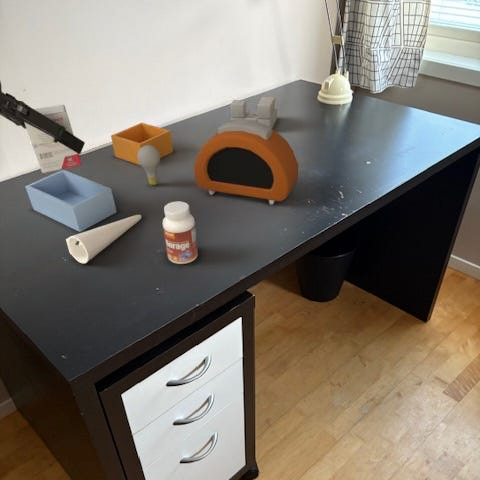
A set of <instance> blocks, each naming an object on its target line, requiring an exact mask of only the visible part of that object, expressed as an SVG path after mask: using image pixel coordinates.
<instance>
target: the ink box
mask: <svg viewBox="0 0 480 480" xmlns="http://www.w3.org/2000/svg"><path fill="white" fill-rule="evenodd" d="M33 109H34V110H36V111H38V112H39V113H41V114H43V115H44V116H46V117H48V118H49V119H51V120H53V121H54V122H56V123H58V124H59V125H61V126H64V127H65V128H66V129H65V130H66V131H68V132H69V133H71V134H72V135H74V132H73V131H74V130H73V128H72V124H71V122H70V118H69V115H68V113H67V108H66V106H65V104H59V105H51V106H44V107H38V108H33ZM24 123H25V122H24ZM25 126H26V129H25V130H26V131H27V134H28V137H29V140H30V142H31V145H32V148H33V151H34V154H35V157H36V160H37V163H38V166H39V168H40V171H41V173H42V174H46V173H49V172H55V171H61V170H66V169H69V168H74V167H78V166H79V167H80V166H82V164H83V163H82V159H81V156H80V154H78V153H76V152H75V151H73V150H71V149H70V148H68V147H66V146H65V145H63V144H61V143H59V142H58V141H57V143H55V142H53V141H54V138H53V137H51V136H50V135H48V134H46V133H44V132H42V131H40V130H38V129H36V128H34V127H33V126H31V125H29V124H27V123H25Z"/></svg>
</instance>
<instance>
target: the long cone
mask: <svg viewBox="0 0 480 480" xmlns="http://www.w3.org/2000/svg"><path fill="white" fill-rule="evenodd" d="M141 219H142V215H141V214H134V215H132V216H129V217H126V218H123V219H120V220H117V221H113V222H110V223H107V224H105V225H101V226H98V227H94V228H92V229H89V230H85V231H81V232H79V233H77V234H74V235H71V236H69V237H68V238H65V241H66V245H67V249H68V251H69V254H70V255H71V256H72V257H73V259H74V260H76V261H77V262H78V263H80V264H87V263H88V262H90V261H91V260H93V258H95V257H96V256H97V255H99V253H101V252H102V251H103V250H105V249H106V248H107V247H108V246H110V245H111V244H112V243H113V242H114V241H116V240H117V239H118V238H120V237H121V236H122V235H123V234H124V233H126V232H127V231H128V230H130V229H131V228H132V227H133V226H134V225H136V224H137V223H138V222H140V220H141ZM77 242H78V244H77Z"/></svg>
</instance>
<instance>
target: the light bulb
mask: <svg viewBox="0 0 480 480" xmlns="http://www.w3.org/2000/svg"><path fill="white" fill-rule="evenodd" d="M137 157H138V162H139V164H140V165H139V166H141V168H142V169H143V170H144V171H145V172H146V175H147V176H146V177H147V179H148V184H149V185H151V186H155V185H157V184H158V177H157V175H158V174H157V170H158V167H159V165H160V163H161V158H160V153H159V151H158V150H157V149H156V148H155V147H153V146H151V145H146V146H143V147H142V148H140V150H139V151H138V155H137Z"/></svg>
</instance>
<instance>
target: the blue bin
mask: <svg viewBox="0 0 480 480" xmlns="http://www.w3.org/2000/svg"><path fill="white" fill-rule="evenodd" d="M24 187H25V190H26V193H27V196H28V198H29V201H30V203H31V207H32V209H33V210H34V211H35V212H37V213H39V214H41V215H44V216H45V217H48V218H50V219H52V220H54V221H56V222H59V223H61V224H62V225H64V226H66V227H68V228H71V229H73V230H74V231H77V232H79V233H82V232H84V231H86V229H88V228H91V227H92V226H94V225H96V224H98V223H100V222H101V221H103V220H105V219H107V218H108V217H110V216H112V215H114V214H116V213H117V209H116V208H117V207H116V204H115V200H114V199H115V198H114V194H113V191H112V188H111V187H109V186H106V185H103V184H100V183H99V182H96V181H93V180H90V179H89V178H87V177H83V176H80V175H78V174H75V173H73V172H71V171H68V170H66V169H60V170H58V171H57V172H54V173H53V174H50V175H48V176H45V177H43V178H41V179H39V180H36V181H34V182H32V183H30V184H27V185H25V186H24Z"/></svg>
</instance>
